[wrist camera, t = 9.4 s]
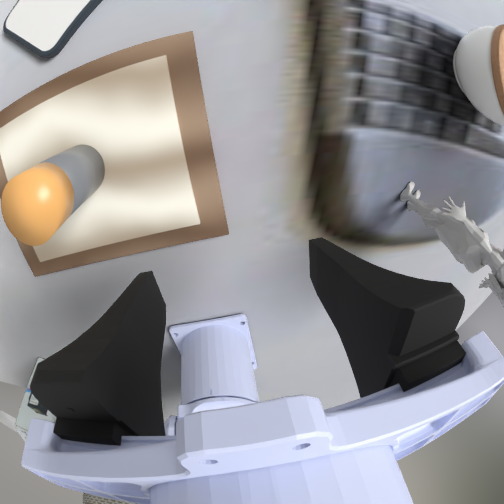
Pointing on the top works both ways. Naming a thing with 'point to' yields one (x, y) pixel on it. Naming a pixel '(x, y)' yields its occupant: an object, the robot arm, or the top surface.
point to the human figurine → (461, 238)
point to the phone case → (47, 23)
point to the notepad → (123, 153)
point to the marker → (50, 193)
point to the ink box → (31, 410)
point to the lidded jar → (482, 70)
